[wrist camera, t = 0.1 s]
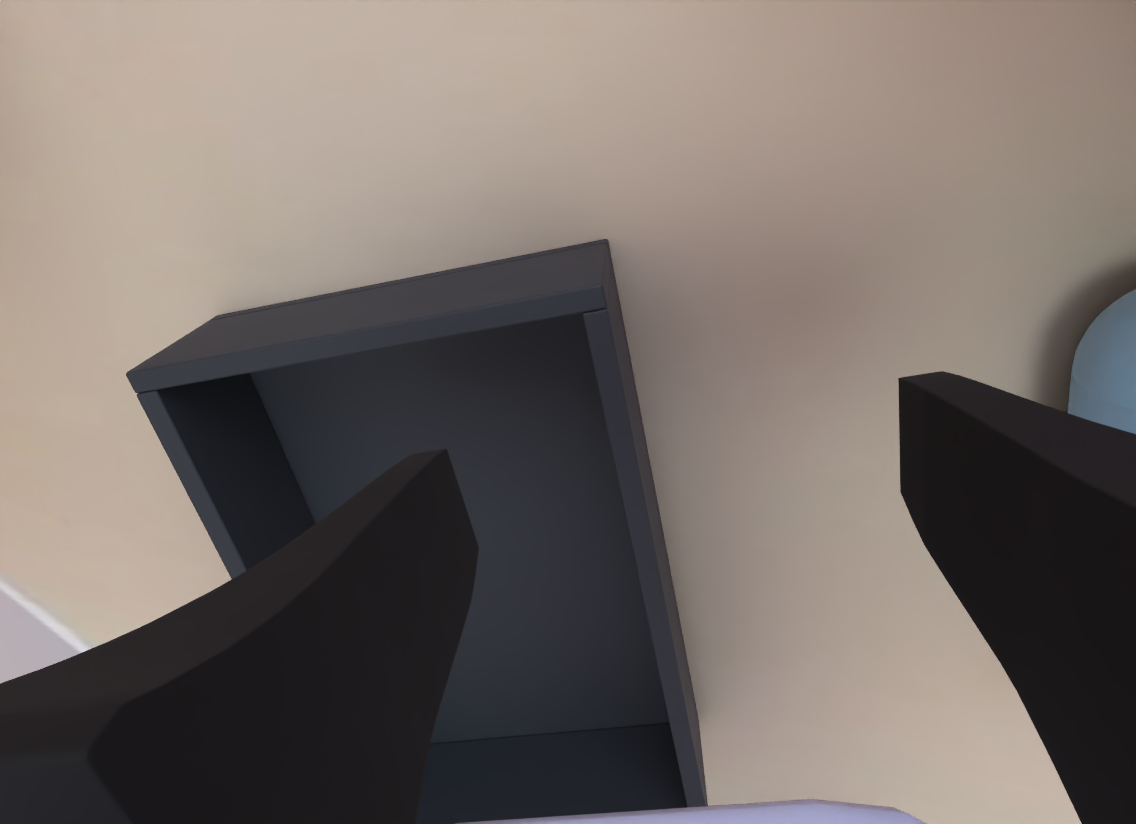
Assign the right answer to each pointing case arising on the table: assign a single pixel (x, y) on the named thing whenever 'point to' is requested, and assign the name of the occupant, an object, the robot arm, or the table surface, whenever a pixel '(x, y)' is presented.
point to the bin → (470, 509)
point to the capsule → (1107, 368)
